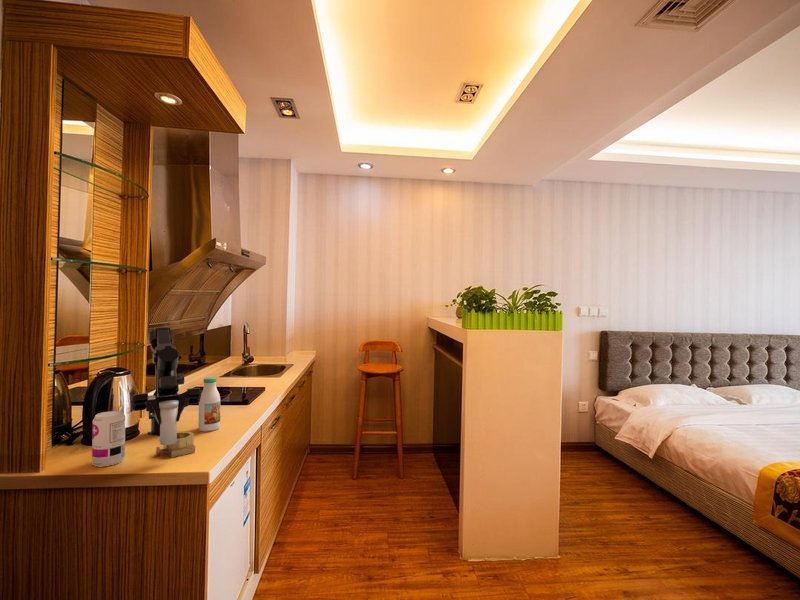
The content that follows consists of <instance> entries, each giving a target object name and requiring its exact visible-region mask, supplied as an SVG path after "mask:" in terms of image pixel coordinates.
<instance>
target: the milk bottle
mask: <svg viewBox="0 0 800 600" xmlns="http://www.w3.org/2000/svg"><path fill="white" fill-rule="evenodd" d="M216 384H217V377H215V376H210V377H209V376H208V377H204V378H203V389H202V390H201V398H200V402H199V403H198V420H197V421H198V431H200V432H205V433H206V432H213V431H216V430H218V429H220V428H221V396H220V395H221V394H220V393H219V391H218V388H217V385H216Z"/></svg>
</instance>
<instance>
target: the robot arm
mask: <svg viewBox="0 0 800 600" xmlns="http://www.w3.org/2000/svg"><path fill="white" fill-rule="evenodd" d="M174 342H175V332H174V330H172V329H171V327H167V326H162V327H155V328H154V330H151V331H149V332H148V345H150V350H151V352H152V364H154V367H155V368H154V370H155V371H154V373H155V374H154V375H155V391H154V392H153V394H152V395H149V393H148V392H142V393H135V394H134V395H132V411H134V412H137V411H138V412H139V411H146V412H147V413H148V420H151V422H150V423H151V424H150V427H151V428H150V429H151V431H149V432H147V435H151V436H152V435H153V436H159V437H160V424H161V418H160V408H159V403H160V402H163V401H168V400H177V401H178V406H177V423H178V422H179V421H180V419H181V415H182V413H183V411H184V409H185V408H186V407H189V405H196V404H199V402H200V398H201V393H202V390H201V388H200V387H191V388H186V392H185V393H179V392H180V391H179V390H180V388H179V385H181V386H182V385H184V384H185V373H178V374H177V368H178V364H179V362H180V361H181V360H182V354H180V353H179V351H178V350H177V348H176V346H175V345H173V344H174Z"/></svg>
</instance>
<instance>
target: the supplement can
mask: <svg viewBox="0 0 800 600" xmlns="http://www.w3.org/2000/svg"><path fill="white" fill-rule="evenodd" d="M91 432H92V435H91V436H92V438H91V441H92V442H91V443H92V444H91V446H92V447H91V465H93V466H94V465H95V466H94V467H96V466H107V467H110V466H109V465H112V466H115V465H118V464H119V463H122V462H123V461H124V460H125V458H126V455H125V454H126V415H125V413H124V412H123V411H122V410H111V411H109V410H108V411H103V412H99V413H97V414H95V416H94V418H93V419H92V431H91ZM117 463H118V464H117ZM114 464H115V465H114Z"/></svg>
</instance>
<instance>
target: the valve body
mask: <svg viewBox="0 0 800 600" xmlns="http://www.w3.org/2000/svg"><path fill="white" fill-rule="evenodd" d="M194 435H195V434H194V433H193V432H192V431H179V432H178V431H177V442H176V443H174V444H170V445H163V448H162V449H161V447H160V446H156V447H155V454H156V456H158V457H161V453H167V454H169V455H170V456H169V455H168V456H169V457H170V458H171V459H172V457H173V458H177V457H181V455H182V456H185V454H186V455H190V454H194V453H193V452H195V453H196V445H194V443H195V442H194V441H195V440H194V439H195V436H194ZM189 453H190V454H189ZM176 456H177V457H176Z"/></svg>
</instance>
